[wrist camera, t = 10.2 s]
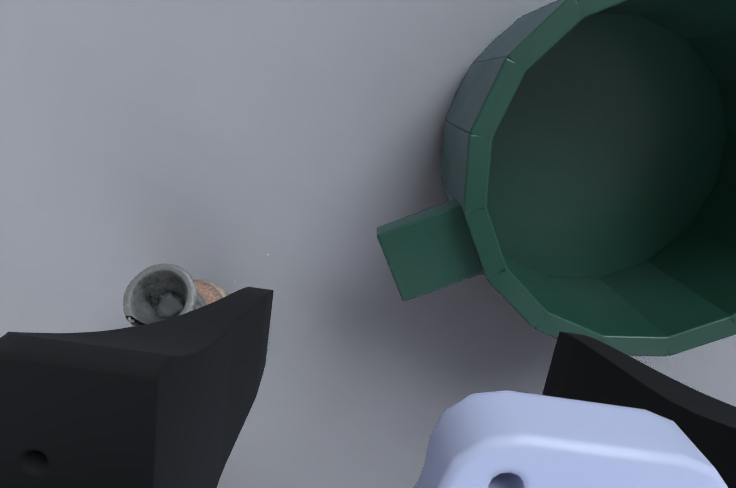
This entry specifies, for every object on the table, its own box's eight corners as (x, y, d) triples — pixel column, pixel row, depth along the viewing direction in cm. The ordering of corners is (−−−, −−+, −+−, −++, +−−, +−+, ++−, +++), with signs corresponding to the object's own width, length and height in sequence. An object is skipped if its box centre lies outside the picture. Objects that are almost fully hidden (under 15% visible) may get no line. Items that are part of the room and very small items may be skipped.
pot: (828, 210, 22) (984, 254, 16) (432, 346, 24) (450, 428, 18) (780, -89, 19) (951, -160, 14) (333, 92, 21) (318, 96, 15)
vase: (155, 217, 22) (80, 263, 17) (287, 241, 23) (258, 295, 17) (144, 336, 24) (72, 416, 18) (268, 358, 24) (236, 444, 18)
